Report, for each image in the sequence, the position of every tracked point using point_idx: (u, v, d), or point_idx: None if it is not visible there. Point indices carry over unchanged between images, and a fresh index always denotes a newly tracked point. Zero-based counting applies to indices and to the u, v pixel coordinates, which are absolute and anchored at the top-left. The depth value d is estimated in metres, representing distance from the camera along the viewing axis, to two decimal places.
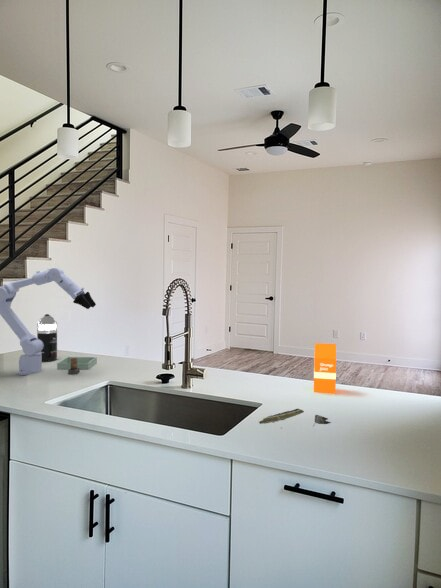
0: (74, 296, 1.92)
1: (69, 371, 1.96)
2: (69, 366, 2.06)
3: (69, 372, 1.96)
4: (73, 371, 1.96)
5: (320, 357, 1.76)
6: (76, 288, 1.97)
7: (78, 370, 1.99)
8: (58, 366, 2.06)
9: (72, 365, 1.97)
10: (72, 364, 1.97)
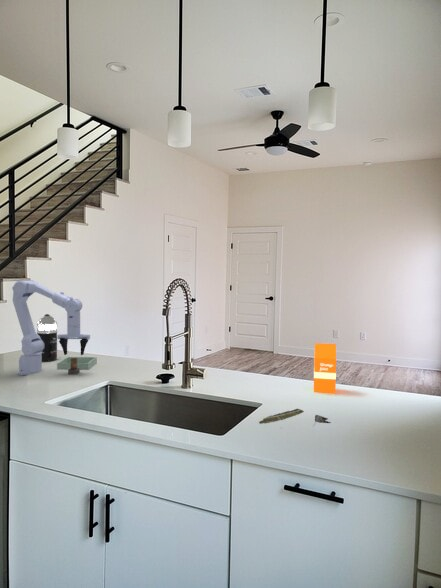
0: None
1: (69, 371, 1.96)
2: (69, 366, 2.06)
3: (69, 372, 1.96)
4: (73, 371, 1.96)
5: (320, 357, 1.76)
6: (68, 331, 1.95)
7: (78, 370, 1.99)
8: (58, 366, 2.06)
9: (72, 365, 1.97)
10: (72, 364, 1.97)
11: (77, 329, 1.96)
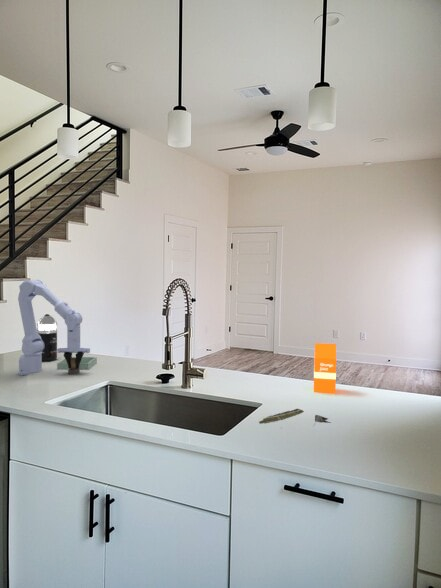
0: None
1: (69, 371, 1.96)
2: None
3: (69, 372, 1.96)
4: (73, 371, 1.96)
5: (320, 357, 1.76)
6: (68, 345, 1.96)
7: (78, 370, 1.99)
8: (58, 366, 2.06)
9: (72, 365, 1.97)
10: (72, 364, 1.97)
11: (77, 343, 1.96)
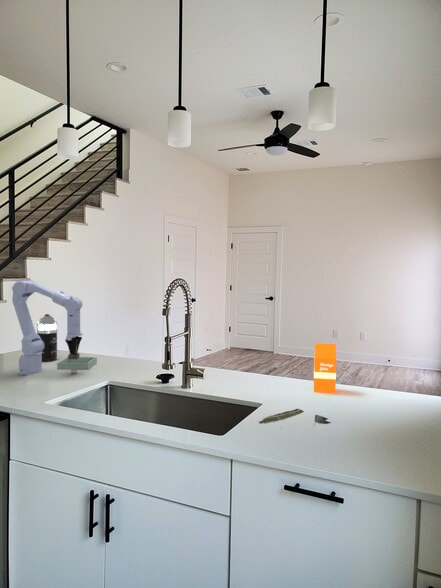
0: (68, 338, 1.90)
1: (77, 356, 1.97)
2: (69, 366, 2.06)
3: (77, 357, 1.97)
4: (78, 355, 1.98)
5: (320, 357, 1.76)
6: (76, 330, 1.95)
7: None
8: (58, 366, 2.06)
9: None
10: (76, 349, 1.98)
11: None
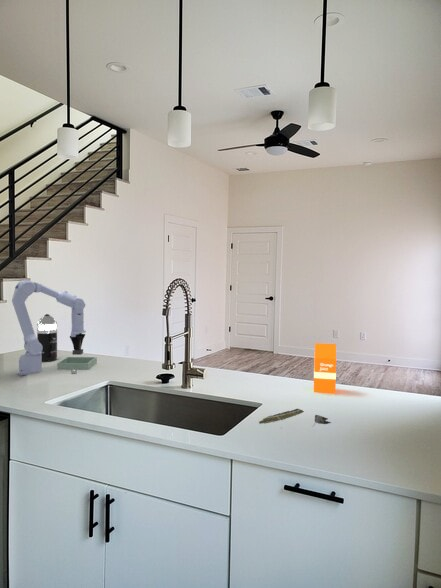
0: (73, 335, 2.05)
1: (80, 351, 2.11)
2: (69, 366, 2.06)
3: (80, 352, 2.11)
4: (82, 350, 2.13)
5: (320, 357, 1.76)
6: (80, 327, 2.10)
7: None
8: (58, 366, 2.06)
9: (80, 346, 2.13)
10: (80, 345, 2.12)
11: None
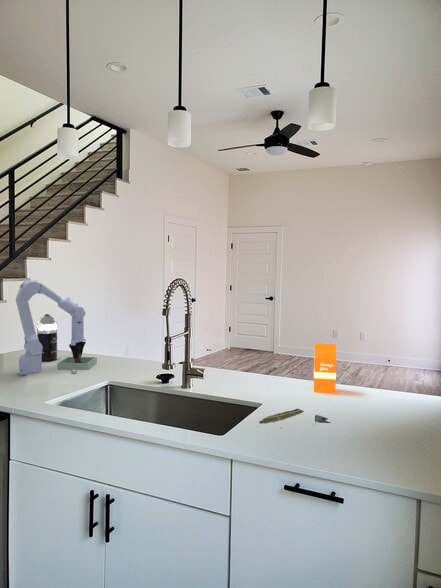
0: (73, 344, 2.05)
1: None
2: (69, 366, 2.06)
3: None
4: None
5: (320, 357, 1.76)
6: (80, 336, 2.10)
7: None
8: (58, 366, 2.06)
9: (80, 359, 2.13)
10: (80, 358, 2.13)
11: None
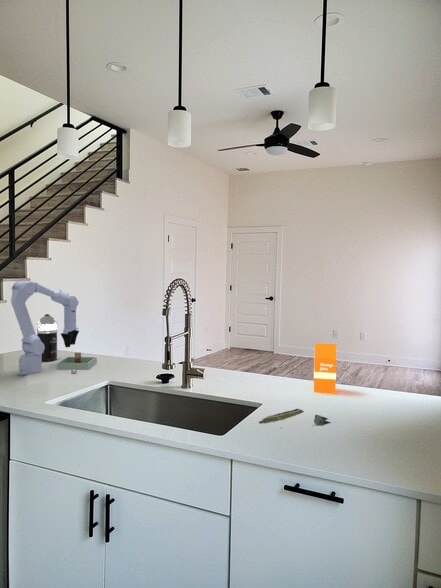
0: (65, 332, 2.09)
1: None
2: (69, 366, 2.06)
3: None
4: None
5: (320, 357, 1.76)
6: (72, 325, 2.14)
7: None
8: (58, 366, 2.06)
9: (80, 359, 2.13)
10: (80, 358, 2.13)
11: None
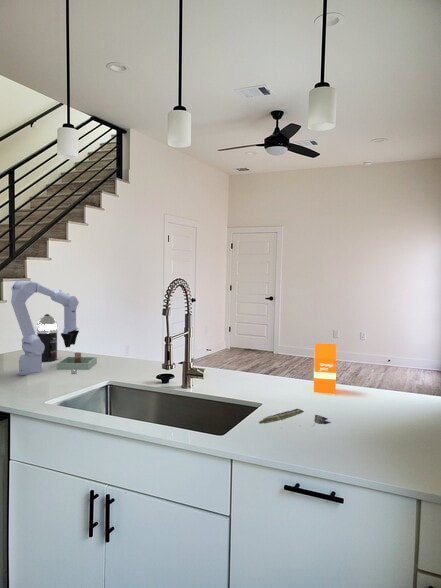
0: (65, 332, 2.09)
1: None
2: (69, 366, 2.06)
3: None
4: None
5: (320, 357, 1.76)
6: (72, 325, 2.14)
7: None
8: (58, 366, 2.06)
9: (80, 359, 2.13)
10: (80, 358, 2.13)
11: None
